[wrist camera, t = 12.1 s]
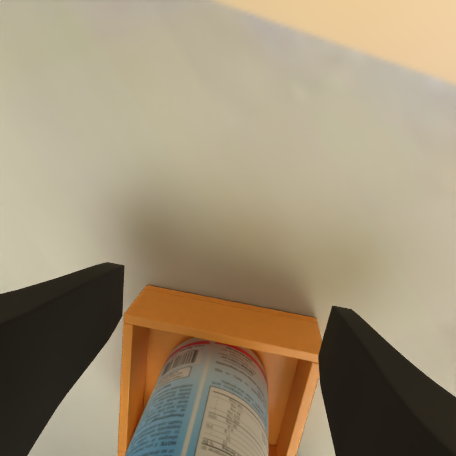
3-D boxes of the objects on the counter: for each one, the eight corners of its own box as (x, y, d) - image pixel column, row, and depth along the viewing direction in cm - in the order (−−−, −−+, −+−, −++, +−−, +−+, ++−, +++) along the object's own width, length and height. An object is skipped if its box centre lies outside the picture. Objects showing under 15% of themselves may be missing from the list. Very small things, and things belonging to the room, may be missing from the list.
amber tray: (282, 445, 20) (284, 497, 17) (138, 412, 21) (117, 456, 18) (316, 317, 17) (325, 355, 14) (146, 284, 18) (123, 314, 15)
